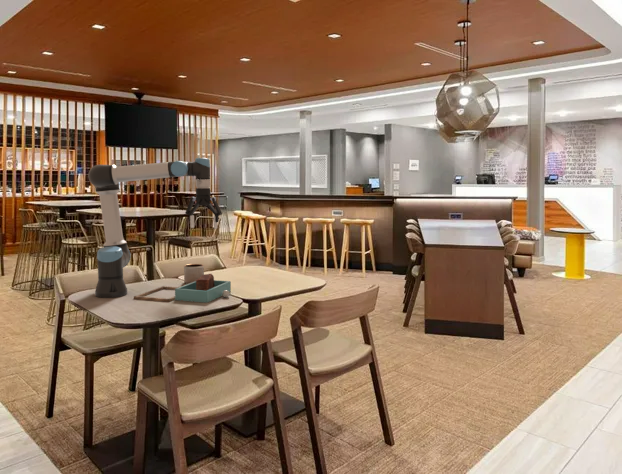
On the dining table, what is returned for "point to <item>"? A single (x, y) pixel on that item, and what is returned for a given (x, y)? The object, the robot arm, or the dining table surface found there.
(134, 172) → the robot arm
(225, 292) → the pebble
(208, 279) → the reddish brown block
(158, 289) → the frame
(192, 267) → the planter
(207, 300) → the dish
